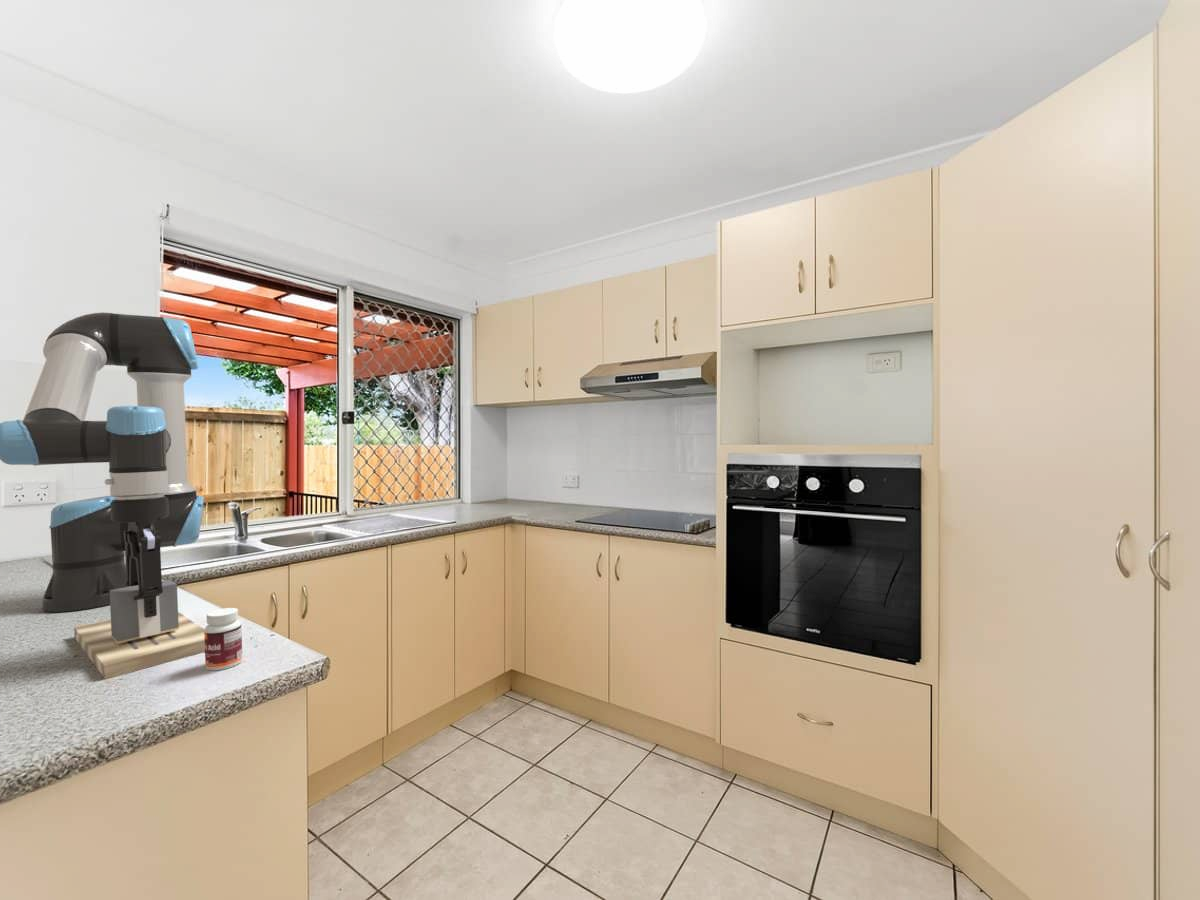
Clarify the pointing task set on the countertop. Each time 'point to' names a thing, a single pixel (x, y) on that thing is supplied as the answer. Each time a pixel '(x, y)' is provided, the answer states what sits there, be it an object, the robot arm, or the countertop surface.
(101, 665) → the board
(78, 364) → the robot arm
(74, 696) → the countertop surface
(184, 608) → the countertop surface
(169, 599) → the block
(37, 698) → the countertop surface
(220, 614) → the pill bottle
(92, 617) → the countertop surface
